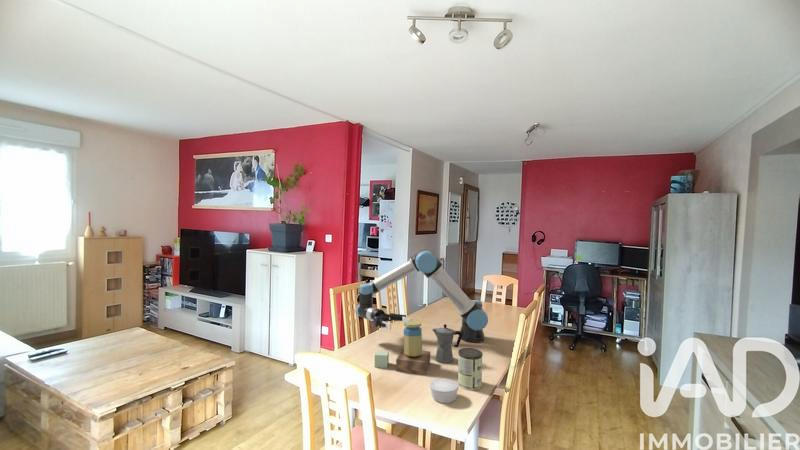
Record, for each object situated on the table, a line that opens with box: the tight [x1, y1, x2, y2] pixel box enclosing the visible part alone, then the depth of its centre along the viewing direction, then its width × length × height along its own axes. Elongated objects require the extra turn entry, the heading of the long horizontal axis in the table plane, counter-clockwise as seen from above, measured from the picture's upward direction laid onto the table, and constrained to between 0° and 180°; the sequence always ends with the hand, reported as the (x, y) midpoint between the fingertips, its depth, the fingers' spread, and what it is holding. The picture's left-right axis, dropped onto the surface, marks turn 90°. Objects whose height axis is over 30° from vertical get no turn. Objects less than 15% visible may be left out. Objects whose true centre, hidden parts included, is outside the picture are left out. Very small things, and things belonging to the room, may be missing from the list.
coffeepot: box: [432, 323, 462, 364], centre depth 175 cm, size 15×9×18 cm, turn 68°
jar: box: [403, 320, 423, 357], centre depth 167 cm, size 9×9×15 cm
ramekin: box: [429, 378, 459, 404], centre depth 138 cm, size 11×11×5 cm
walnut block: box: [395, 348, 431, 375], centre depth 167 cm, size 14×14×6 cm
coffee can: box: [457, 347, 483, 391], centre depth 149 cm, size 10×10×14 cm
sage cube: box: [374, 349, 390, 369], centre depth 168 cm, size 6×6×6 cm
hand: (401, 324), depth 174 cm, fingers open, 13 cm apart
